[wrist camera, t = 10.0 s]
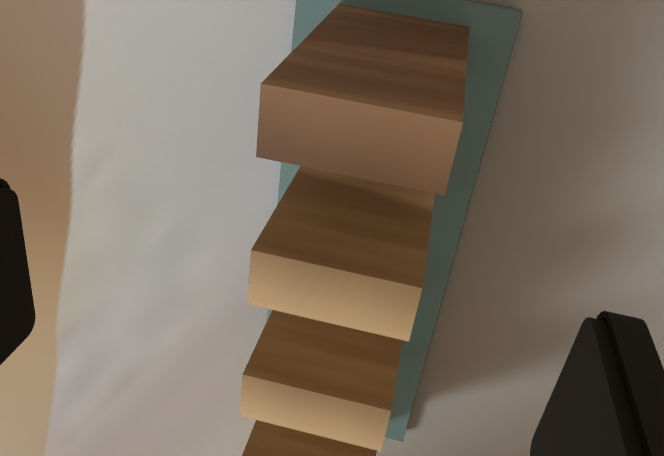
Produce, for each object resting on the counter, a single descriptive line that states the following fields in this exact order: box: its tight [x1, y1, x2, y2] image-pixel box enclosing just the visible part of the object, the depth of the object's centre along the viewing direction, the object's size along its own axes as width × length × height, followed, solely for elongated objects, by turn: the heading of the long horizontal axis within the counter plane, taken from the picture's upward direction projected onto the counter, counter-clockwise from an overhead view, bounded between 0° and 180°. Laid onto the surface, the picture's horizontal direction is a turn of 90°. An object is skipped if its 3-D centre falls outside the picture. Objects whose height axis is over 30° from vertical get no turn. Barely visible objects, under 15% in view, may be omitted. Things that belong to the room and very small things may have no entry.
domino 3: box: [240, 310, 403, 451], centre depth 25 cm, size 2×5×10 cm, turn 83°
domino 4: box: [242, 420, 377, 456], centre depth 28 cm, size 2×5×10 cm, turn 83°
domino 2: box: [248, 166, 435, 342], centre depth 22 cm, size 2×5×10 cm, turn 83°
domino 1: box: [256, 4, 469, 195], centre depth 20 cm, size 2×5×10 cm, turn 83°
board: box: [267, 0, 522, 442], centre depth 29 cm, size 24×8×1 cm, turn 173°
